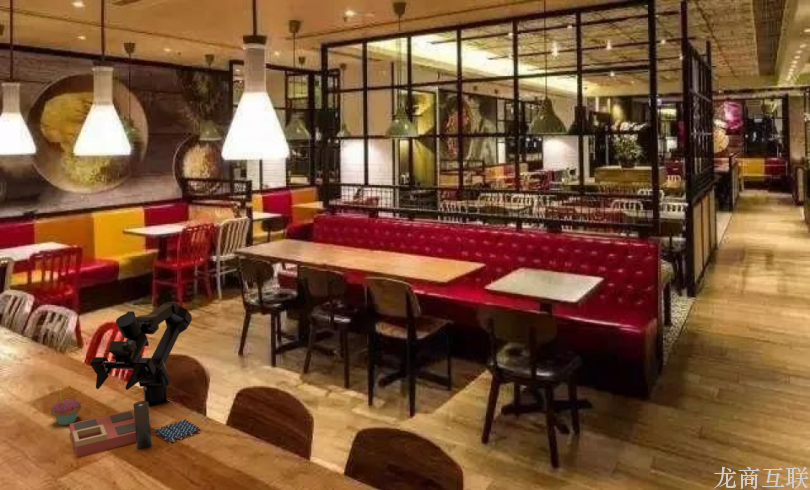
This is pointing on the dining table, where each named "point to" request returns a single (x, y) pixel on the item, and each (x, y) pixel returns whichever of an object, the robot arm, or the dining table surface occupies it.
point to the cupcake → (65, 410)
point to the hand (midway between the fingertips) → (111, 388)
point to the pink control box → (103, 433)
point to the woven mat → (177, 431)
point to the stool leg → (142, 424)
